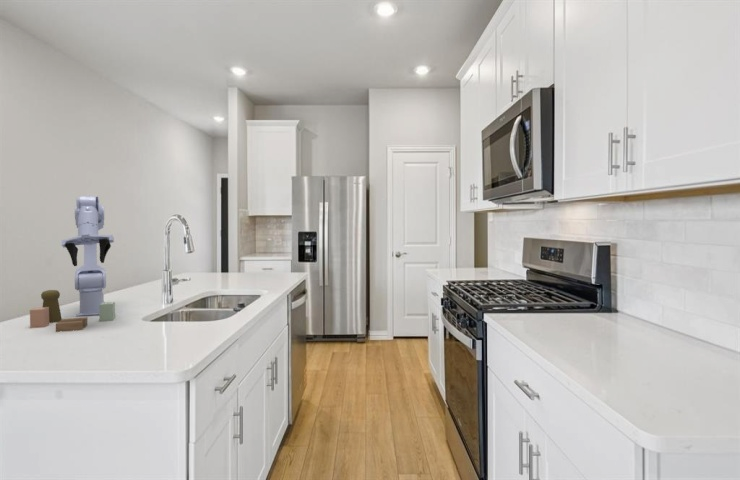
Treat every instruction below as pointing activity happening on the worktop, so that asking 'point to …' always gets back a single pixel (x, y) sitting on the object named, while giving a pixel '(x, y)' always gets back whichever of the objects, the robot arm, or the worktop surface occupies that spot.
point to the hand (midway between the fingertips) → (88, 263)
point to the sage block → (107, 311)
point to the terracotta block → (39, 317)
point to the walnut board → (71, 324)
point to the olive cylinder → (52, 304)
